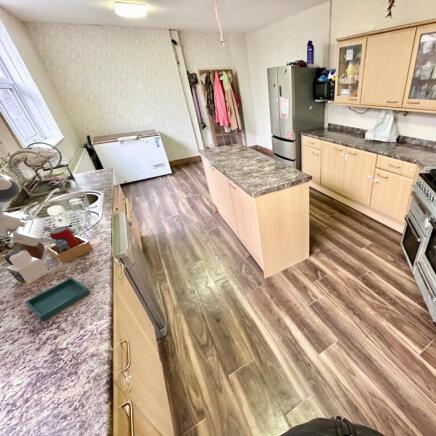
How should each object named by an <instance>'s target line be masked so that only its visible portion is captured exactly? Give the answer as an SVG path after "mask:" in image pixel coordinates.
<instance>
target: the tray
mask: <svg viewBox="0 0 436 436" xmlns="http://www.w3.org/2000/svg"><path fill="white" fill-rule="evenodd" d="M90 294H91V291H90V290H89V288H87V287H86V286H84V285H83V284H82V283H81V282H79V281H77V279H75V278H73V277H72V276H71V277H69V278H67V279H65V280H63V281H61V282H60V283H57V284H55V285H53V286H52V287H50V288H48V289H46V290H44V291H43V292H41V293H38V294H36V295H35V296H33V297H31V298H29V299H27V300H26V301H24V304H25V305H26V306H27V307H28V308H29V309H30V310H31V311H32V312H33V314H34V315H35V316H36V317H37V318H39V320H40V321H41V322H42V323H44V322H46V320H49V319H50V318H52V317H54V316H55V315H57V314H58V313H60V312H62V311H63V310H65V309H66V308H69V307H70V306H72V305H74V304H76V303H77V302H78V301H80V300H82V299H83V298H85V297H87V296H88V295H90Z"/></svg>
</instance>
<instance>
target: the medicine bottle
mask: <svg viewBox="0 0 436 436" xmlns="http://www.w3.org/2000/svg"><path fill="white" fill-rule="evenodd" d="M4 260H5V261H6V263H7V264H8V265H9V266H6V270H7V271H8V272H9V273H10V274H11V275H12V277H13V278H14V280H15V281H16V282H19V283H22V284H25V285H31V284H32V283H34V282H36V281H37V280H40V279H41V278H43V277H45V276H46V275H48V274H49V273H50V271H49V269H47V267H46V265H45V264H44V263H43V261H41V259H40V258H39V259H37V258H33V257H32V256H31V255H30V253H29V252H28V251H27V250H19V249H17V250H14V251H12V252H10V253H8V254H6V255H5V257H4Z"/></svg>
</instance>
